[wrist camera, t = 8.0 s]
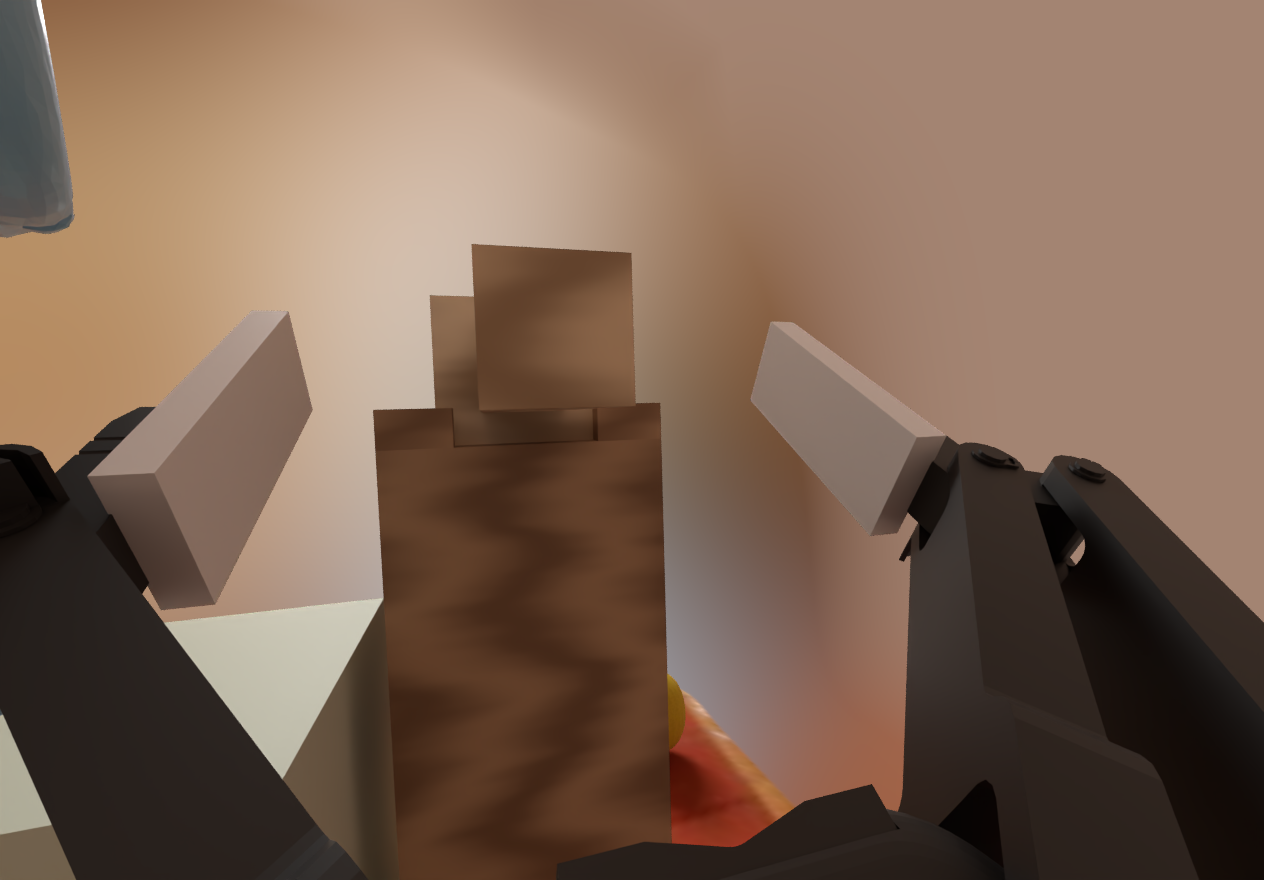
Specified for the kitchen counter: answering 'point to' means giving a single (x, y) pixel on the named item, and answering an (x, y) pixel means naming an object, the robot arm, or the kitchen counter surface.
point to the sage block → (269, 729)
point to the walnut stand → (524, 644)
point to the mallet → (535, 344)
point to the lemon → (675, 712)
